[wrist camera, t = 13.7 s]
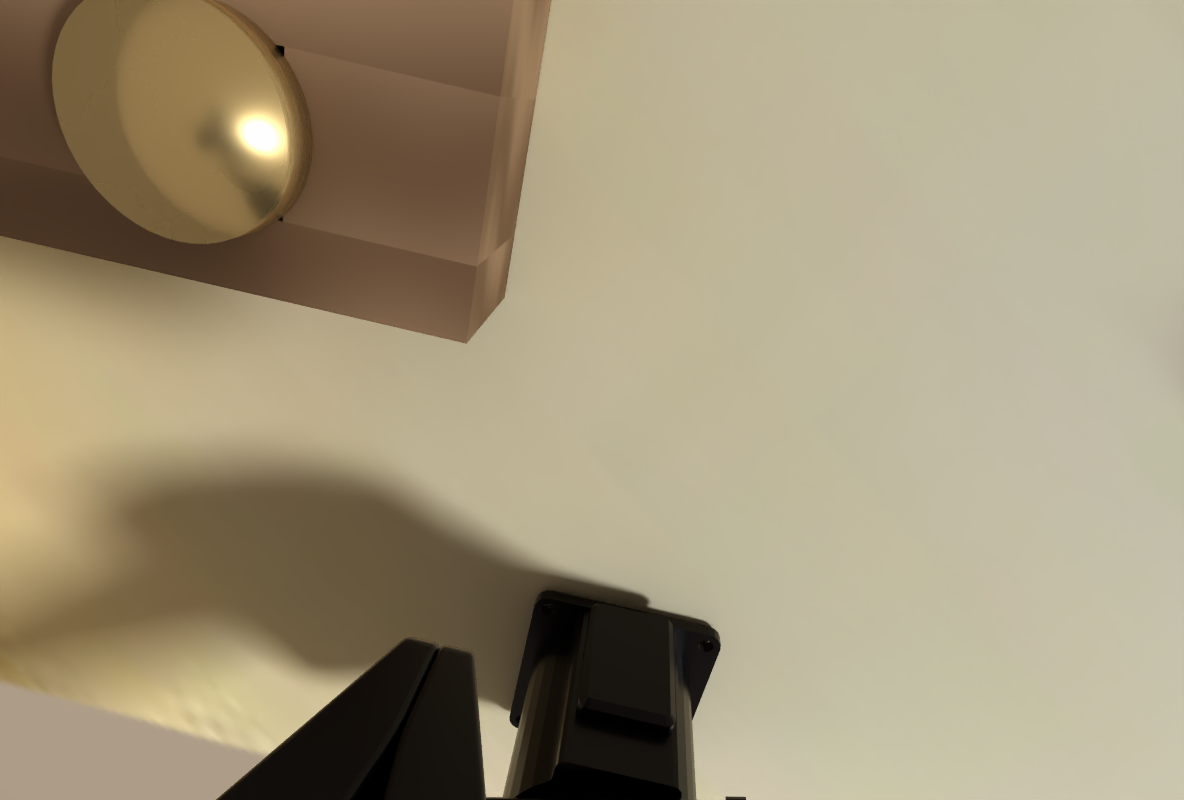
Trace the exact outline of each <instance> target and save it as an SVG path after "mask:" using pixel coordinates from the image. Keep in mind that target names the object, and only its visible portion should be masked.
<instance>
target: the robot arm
mask: <svg viewBox="0 0 1184 800" xmlns="http://www.w3.org/2000/svg"><path fill="white" fill-rule="evenodd" d="M545 604H551V605H553V606H554V607H553V608H549V607H547V606H545ZM702 641H710V642H709V643H702ZM720 647H721V644H720V636H719V634H718V632H717V631H716V630H715V629H713V628H710V627H707V626H703V625H698V624H694V623H690V622H685V621H681V620H677V619H672V618H668V617H664V616H659V615H655V614H651V613H646V612H642V611H638V610H634V609H629V608H625V607H621V606H616V605H612V604H608V603H603V602H599V601H595V600H590V599H586V598H582V597H577V596H573V595H569V594H564V593H560V592H556V591H548V590H547V591H543V592H541V593H540V594H539V595H538V596H537V598H536V602H535V606H534V610H533V615H532V619H531V623H530V628H529V632H528V637H527V641H526V646H525V650H524V655H523V659H522V664H521V668H520V673H519V677H518V682H517V686H516V691H515V695H514V699H513V704H512V708H511V713H510V722H511V724H512V725H513V726H515V727H516V728H518V732H517V736H516V741H515V745H514V750H513V754H512V758H511V763H510V767H509V772H508V776H507V780H506V785H505V789H504V794H503V797H486V795H485V782H484V770H483V758H482V745H481V733H480V720H479V708H478V696H477V683H476V671H475V659H474V655H473V653H472V652H471V651H469V650H465V649H461V648H457V647H452V646H448V645H444V646H442V647H441V648H440V649H439V646H438V644H436V643H435V642H431V641H426V640H422V639H418V638H413V637H409V638H405V639H404V640H402V641H401V642H400V643H399V644H398V645H396V646H395V647H394V648H393V649H392V650H391V651H389V652H388V653H387V654H386V655H385V656H383V657H382V658H381V659H380V660H379V661H378V662H376V663H375V664H374V665H373V666H372V667H371V668H369V669H368V670H367V671H366V672H365V673H364V674H362V675H361V676H360V677H359V678H358V679H357V680H355V681H354V682H353V683H352V684H351V685H350V686H348V687H347V688H346V689H345V690H344V691H343V692H341V693H340V694H339V695H338V696H337V697H336V698H334V699H333V700H332V701H331V702H330V703H329V704H327V705H326V706H325V707H324V708H323V709H322V710H320V711H319V712H318V713H317V714H316V715H314V716H313V717H312V718H311V719H310V720H309V721H307V722H306V723H305V724H304V725H303V726H302V727H300V728H299V729H298V730H297V731H296V732H295V733H293V734H292V735H291V736H290V737H289V738H288V739H286V740H285V741H284V742H283V743H282V744H281V745H279V746H278V747H277V748H276V749H275V750H274V751H272V752H271V753H270V754H269V755H268V756H267V757H265V758H264V759H263V760H262V761H261V762H260V763H258V764H257V765H256V766H255V767H254V768H252V770H250V771H249V772H248V773H247V774H245V775H244V776H243V777H242V778H241V779H240V780H238V782H236V783H235V784H234V785H233V786H231V787H230V788H229V789H228V790H227V791H226V792H224V793H223V794H222V795H221V796H220V797H219V798H217V799H216V800H696V786H695V768H694V750H693V731H692V720H693V717H694V715H695V712H696V709H697V707H698V704H699V702H700V699H701V697H702V694H703V692H704V689H705V687H706V684H707V682H708V679H709V677H710V674H711V672H712V669H713V666H714V664H715V661H716V659H717V656H718V654H719V651H720ZM726 800H746V797H726Z"/></svg>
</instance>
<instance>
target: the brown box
mask: <svg viewBox="0 0 1184 800" xmlns="http://www.w3.org/2000/svg"><path fill="white" fill-rule="evenodd" d="M83 1H84V0H0V236H5V237H9V238H13V239H18V240H22V241H26V242H31V243H35V244H39V245H44V246H48V247H52V248H56V249H61V250H65V251H69V252H74V253H78V254H82V255H87V256H91V257H95V258H100V259H104V260H108V261H113V262H117V263H121V264H126V265H130V266H134V267H139V268H143V269H147V270H151V271H156V272H160V273H164V274H169V275H173V276H177V277H182V278H186V279H190V280H195V281H199V282H203V283H208V284H212V285H216V286H221V287H225V288H229V289H234V290H238V291H242V292H246V293H251V294H255V295H259V296H264V297H268V298H272V299H277V300H281V301H285V302H290V303H294V304H298V305H303V306H307V307H311V308H316V309H320V310H324V311H329V312H333V313H337V314H341V315H346V316H350V317H354V318H359V319H363V320H367V321H372V322H376V323H380V324H385V325H389V326H393V327H398V328H402V329H406V330H411V331H415V332H419V333H424V334H428V335H432V336H436V337H441V338H445V339H449V340H454V341H458V342H462V343H467V342H468V341H469V340H470V339H471V337H472V336H473V335H474V334H475V333H476V331H477V330H478V329H479V328H480V327H481V325H482V324H483V323H484V322H485V320H486V319H487V318H488V317H489V316H490V314H491V313H492V312H493V311H494V310H495V308H496V307H497V306H498V305H499V303H500V302H501V301H502V300H503V299H504V297H505V291H506V284H507V278H508V271H509V265H510V259H511V252H512V246H513V240H514V233H515V227H516V221H517V214H518V208H519V202H520V195H521V189H522V182H523V176H524V170H525V163H526V157H527V151H528V144H529V138H530V132H531V125H532V119H533V112H534V106H535V100H536V93H537V87H538V81H539V74H540V68H541V62H542V55H543V49H544V43H545V36H546V30H547V23H548V17H549V11H550V4H551V0H219V1H221V2H224V3H226V4H228V5H230V6H231V7H233V8H235V9H236V10H238V11H239V12H241V13H243V14H244V15H245V16H247V17H248V18H249V19H250V20H252V21H253V22H254V23H255V24H257V25H258V26H259V27H260V28H261V29H262V30H263V31H264V32H265V33H266V34H267V35H268V36H269V37H270V38H271V39H272V41H273V42H274V43H275V44H276V45H280V46H284V56H285V58H286V60H287V61H288V63H289V64H290V66H291V67H292V69H293V71H294V73H295V75H296V77H297V79H298V81H299V83H300V86H301V88H302V91H303V94H304V96H305V99H306V103H307V106H308V110H309V114H310V119H311V126H312V137H313V151H312V162H311V167H310V171H309V175H308V178H307V181H306V184H305V186H304V189H303V191H302V193H301V194H300V196H299V198H298V200H297V201H296V203H295V204H294V205H293V206H292V208H291V209H290V210H289V211H288V212H287V213H286V214H285V215H284V216H283V217H282V218H281V219H279V220H278V221H276V222H275V223H273V224H272V225H270V226H268V227H266V228H264V229H262V230H260V231H257V232H253V233H250V234H247V235H243V236H240V237H237V238H233V239H230V240H226V241H223V242H219V243H210V244H191V243H185V242H179V241H175V240H172V239H168V238H165V237H162V236H160V235H157V234H155V233H153V232H150V231H148V230H146V229H145V228H143V227H141V226H139V225H138V224H136V223H134V222H133V221H131V220H130V219H129V218H127V217H126V216H124V215H123V214H122V213H120V212H119V211H118V210H117V209H116V208H115V207H113V206H112V205H111V204H110V203H109V202H108V201H107V200H106V199H105V198H104V197H103V196H102V195H101V194H100V193H99V192H98V191H97V190H96V188H95V187H94V186H93V185H92V183H91V182H90V181H89V179H88V178H87V177H86V176H85V174H84V172H83V171H82V169H81V168H80V166H79V165H78V163H77V162H76V160H75V158H74V156H73V154H72V152H71V150H70V149H69V147H68V144H67V142H66V140H65V137H64V135H63V132H62V130H61V127H60V123H59V120H58V117H57V113H56V108H55V103H54V97H53V87H52V67H53V58H54V53H55V47H56V44H57V41H58V38H59V35H60V32H61V30H62V28H63V26H64V25H65V23H66V21H67V19H68V17H69V16H70V15H71V14H72V12H73V11H74V10H75V8H76V7H77V6H78V5H79V4H80V3H81V2H83Z"/></svg>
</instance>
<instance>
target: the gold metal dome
mask: <svg viewBox="0 0 1184 800" xmlns="http://www.w3.org/2000/svg"><path fill="white" fill-rule="evenodd" d="M52 87H53V97H54V103H55V108H56V113H57V117H58V120H59V123H60V127H61V130H62V132H63V135H64V137H65V140H66V142H67V144H68V147H69V149H70V150H71V152H72V154H73V156H74V158H75V160H76V162H77V163H78V165H79V166H80V168H81V169H82V171H83V172H84V174H85V176H86V177H87V178H88V179H89V181H90V182H91V183H92V185H93V186H94V187H95V188H96V190H97V191H98V192H99V193H100V194H101V195H102V196H103V197H104V198H105V199H106V200H107V201H108V202H109V203H110V204H111V205H112V206H113V207H115V208H116V209H117V210H118V211H119V212H120V213H122V214H123V215H124V216H126V217H127V218H129V219H130V220H131V221H133V222H134V223H136V224H138V225H139V226H141V227H143V228H145V229H146V230H148V231H150V232H153V233H155V234H157V235H160V236H162V237H165V238H168V239H172V240H175V241H179V242H185V243H191V244H210V243H219V242H223V241H226V240H230V239H233V238H237V237H240V236H243V235H247V234H250V233H253V232H257V231H260V230H262V229H264V228H266V227H268V226H270V225H272V224H273V223H275V222H276V221H278V220H279V219H281V218H282V217H283V216H284V215H285V214H286V213H287V212H288V211H289V210H290V209H291V208H292V206H293V205H294V204H295V203H296V201H297V200H298V198H299V196H300V194H301V193H302V191H303V189H304V186H305V184H306V181H307V178H308V175H309V171H310V167H311V162H312V151H313V137H312V126H311V119H310V114H309V110H308V106H307V103H306V99H305V96H304V94H303V91H302V88H301V86H300V83H299V81H298V79H297V77H296V75H295V73H294V71H293V69H292V67H291V66H290V64H289V63H288V61H287V60H286V58H285V56H284V55H283V53H282V52H281V51H280V49H279V48H278V47H277V46H276V44H275V43H274V42H273V41H272V39H271V38H270V37H269V36H268V35H267V34H266V33H265V32H264V31H263V30H262V29H261V28H260V27H259V26H258V25H257V24H255V23H254V22H253V21H252V20H250V19H249V18H248V17H247V16H245V15H244V14H243V13H241V12H239V11H238V10H236V9H235V8H233V7H231V6H230V5H228V4H226V3H224V2H221V1H219V0H84V1H83V2H81V3H80V4H79V5H78V6H77V7H76V8H75V10H74V11H73V12H72V14H71V15H70V16H69V17H68V19H67V21H66V23H65V25H64V26H63V28H62V30H61V32H60V35H59V38H58V41H57V44H56V47H55V53H54V58H53V67H52Z"/></svg>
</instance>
